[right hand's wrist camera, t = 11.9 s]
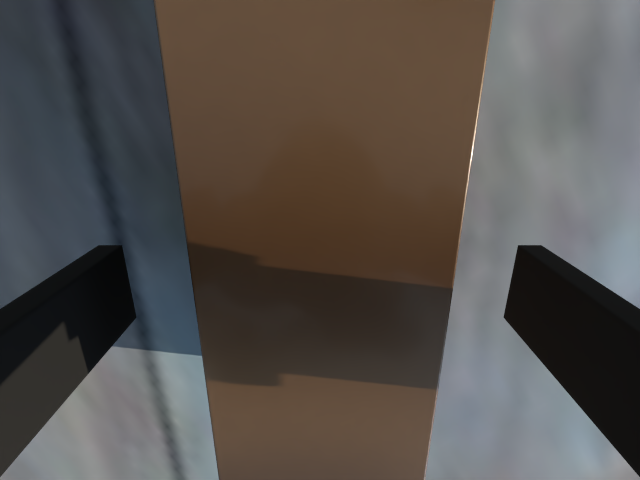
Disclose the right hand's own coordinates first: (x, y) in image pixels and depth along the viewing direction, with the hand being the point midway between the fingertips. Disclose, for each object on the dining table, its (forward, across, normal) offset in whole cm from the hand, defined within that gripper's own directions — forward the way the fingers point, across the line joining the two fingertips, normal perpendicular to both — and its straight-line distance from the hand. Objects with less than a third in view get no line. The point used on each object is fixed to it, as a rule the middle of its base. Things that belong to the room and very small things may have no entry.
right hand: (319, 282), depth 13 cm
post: (+4, 0, -31) cm, 31 cm away
